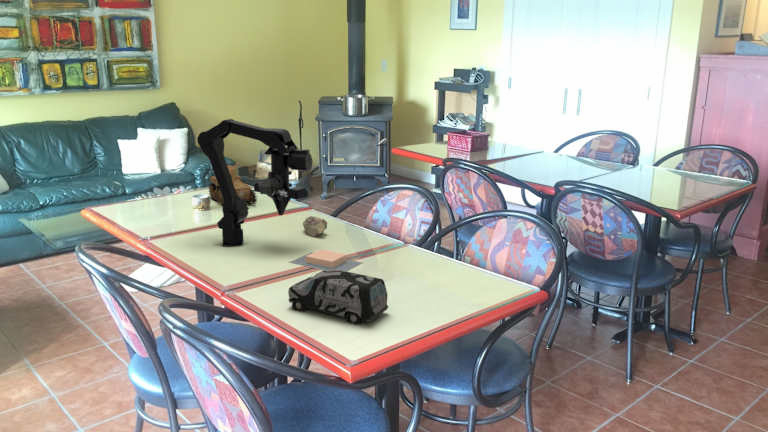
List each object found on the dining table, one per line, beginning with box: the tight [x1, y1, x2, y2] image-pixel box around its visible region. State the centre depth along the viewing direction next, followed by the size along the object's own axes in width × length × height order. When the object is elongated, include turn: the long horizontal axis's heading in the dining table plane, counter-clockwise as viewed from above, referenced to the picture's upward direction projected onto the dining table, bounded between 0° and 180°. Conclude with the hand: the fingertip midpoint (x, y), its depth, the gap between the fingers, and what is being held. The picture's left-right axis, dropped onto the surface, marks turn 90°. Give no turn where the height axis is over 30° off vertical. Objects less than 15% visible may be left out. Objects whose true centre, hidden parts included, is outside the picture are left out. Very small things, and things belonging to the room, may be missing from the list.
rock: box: [302, 215, 328, 238], centre depth 228 cm, size 7×11×10 cm
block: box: [306, 248, 348, 269], centre depth 198 cm, size 2×8×10 cm
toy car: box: [287, 269, 389, 325], centre depth 162 cm, size 11×25×10 cm, turn 62°
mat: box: [288, 252, 363, 272], centre depth 199 cm, size 20×12×1 cm, turn 59°
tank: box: [208, 164, 258, 206], centre depth 274 cm, size 13×27×15 cm, turn 32°
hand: (280, 215), depth 210 cm, fingers closed
